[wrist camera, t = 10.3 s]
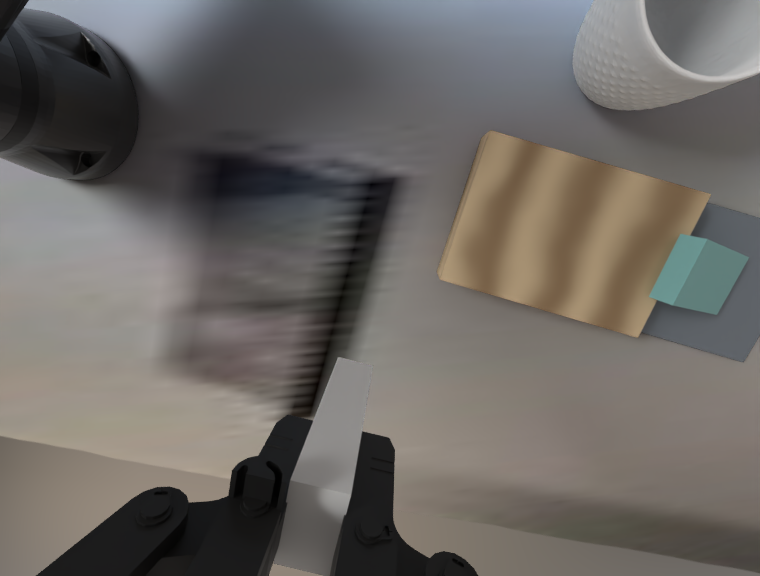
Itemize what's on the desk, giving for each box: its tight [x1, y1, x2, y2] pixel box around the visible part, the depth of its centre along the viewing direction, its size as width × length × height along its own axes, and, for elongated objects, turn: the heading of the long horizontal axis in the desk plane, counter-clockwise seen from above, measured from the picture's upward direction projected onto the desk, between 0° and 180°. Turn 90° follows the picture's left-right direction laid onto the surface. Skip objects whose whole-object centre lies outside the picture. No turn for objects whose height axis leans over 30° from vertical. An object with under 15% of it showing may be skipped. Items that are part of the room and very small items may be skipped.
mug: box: [572, 0, 760, 111], centre depth 26 cm, size 15×11×13 cm
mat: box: [641, 203, 760, 362], centre depth 36 cm, size 14×14×1 cm
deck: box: [437, 130, 711, 338], centre depth 35 cm, size 20×14×4 cm
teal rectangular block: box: [649, 234, 749, 315], centre depth 33 cm, size 9×6×2 cm
